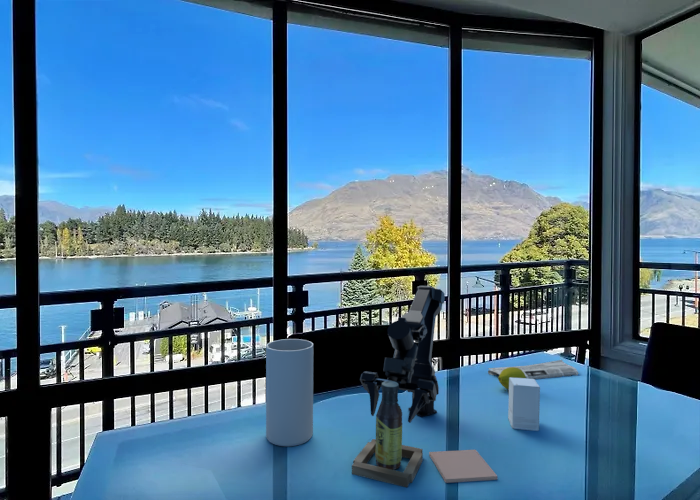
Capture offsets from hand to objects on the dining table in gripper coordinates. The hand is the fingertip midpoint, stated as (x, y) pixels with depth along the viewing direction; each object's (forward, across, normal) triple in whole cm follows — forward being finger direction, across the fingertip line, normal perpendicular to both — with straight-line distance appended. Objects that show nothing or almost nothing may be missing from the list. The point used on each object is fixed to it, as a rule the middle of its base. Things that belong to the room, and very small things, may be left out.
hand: (390, 418), depth 103 cm
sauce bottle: (+8, 0, +7) cm, 11 cm away
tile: (+4, +16, +12) cm, 20 cm away
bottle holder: (+8, 0, +7) cm, 11 cm away
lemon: (-38, +25, +53) cm, 70 cm away
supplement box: (-18, +29, +33) cm, 48 cm away
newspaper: (-54, +32, +70) cm, 94 cm away
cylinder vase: (+6, -29, +9) cm, 31 cm away
